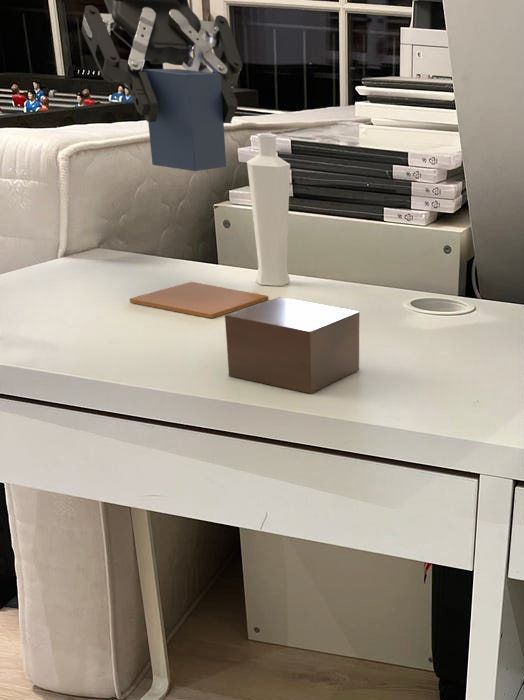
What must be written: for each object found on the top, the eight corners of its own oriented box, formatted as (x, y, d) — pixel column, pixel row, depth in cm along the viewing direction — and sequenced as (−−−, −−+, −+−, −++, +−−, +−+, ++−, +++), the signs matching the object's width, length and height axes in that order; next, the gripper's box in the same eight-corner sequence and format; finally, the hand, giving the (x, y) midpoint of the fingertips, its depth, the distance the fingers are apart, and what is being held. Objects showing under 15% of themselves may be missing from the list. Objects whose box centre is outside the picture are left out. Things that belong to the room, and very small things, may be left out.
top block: (194, 171, 92) (187, 74, 88) (152, 165, 94) (142, 69, 90) (226, 167, 96) (221, 73, 92) (185, 161, 98) (177, 68, 94)
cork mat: (211, 318, 96) (211, 314, 96) (129, 302, 99) (129, 298, 99) (268, 299, 104) (268, 295, 104) (191, 285, 107) (191, 281, 107)
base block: (311, 394, 79) (309, 331, 77) (228, 376, 82) (224, 315, 79) (359, 370, 86) (359, 311, 83) (281, 353, 88) (279, 296, 85)
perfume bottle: (265, 288, 108) (258, 137, 100) (246, 280, 111) (237, 132, 103) (301, 285, 111) (297, 137, 103) (281, 276, 114) (276, 132, 106)
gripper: (59, -80, 86) (123, 84, 85) (213, -62, 94) (274, 89, 92) (50, -10, 92) (110, 144, 91) (195, 2, 100) (252, 144, 99)
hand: (192, 116), depth 92 cm, fingers closed on top block, 7 cm apart
